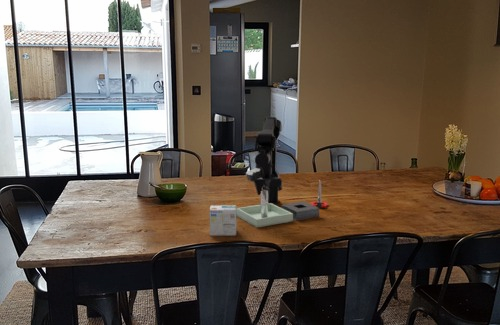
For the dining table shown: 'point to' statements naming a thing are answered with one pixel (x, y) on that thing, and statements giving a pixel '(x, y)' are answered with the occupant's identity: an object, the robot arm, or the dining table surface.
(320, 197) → the tow hook
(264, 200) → the pin
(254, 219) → the tray
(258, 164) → the robot arm
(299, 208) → the hitch block
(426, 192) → the dining table surface
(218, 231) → the light bulb box
